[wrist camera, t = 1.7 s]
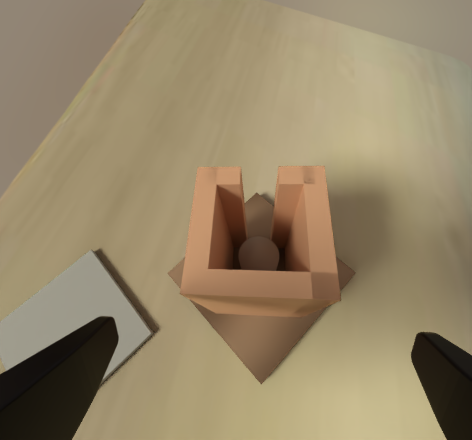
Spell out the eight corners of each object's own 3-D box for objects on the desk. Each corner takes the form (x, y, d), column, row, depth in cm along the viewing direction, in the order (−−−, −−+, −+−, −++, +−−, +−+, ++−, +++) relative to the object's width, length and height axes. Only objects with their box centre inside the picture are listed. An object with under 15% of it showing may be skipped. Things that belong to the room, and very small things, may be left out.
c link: (301, 317, 17) (341, 300, 9) (215, 313, 18) (180, 293, 10) (297, 236, 20) (324, 165, 11) (222, 235, 20) (197, 167, 12)
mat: (153, 333, 18) (151, 333, 18) (43, 440, 16) (36, 443, 15) (94, 251, 21) (90, 249, 21) (-5, 330, 19) (-12, 330, 19)
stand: (352, 275, 19) (383, 254, 14) (261, 382, 16) (262, 401, 12) (256, 197, 22) (256, 159, 18) (170, 275, 20) (143, 256, 15)
